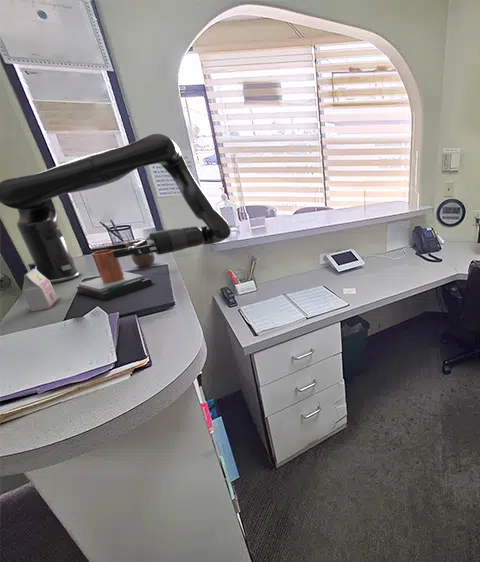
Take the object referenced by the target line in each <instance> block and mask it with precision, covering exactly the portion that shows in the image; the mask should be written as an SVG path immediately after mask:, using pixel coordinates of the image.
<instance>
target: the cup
mask: <svg viewBox="0 0 480 562" xmlns="http://www.w3.org/2000/svg"><path fill="white" fill-rule="evenodd" d="M112 251H114V249H108V250H107V249H102V250H97V251H94V252H92V253H91V256H92V258H93V261H94V264H95V267H96V269H97V271H98V274H99V278H100V277H101V279H102V282H103V283H111V282H116V281H120V280H122V279H124V278H125V277H124V274H123V271H124V270H123V269H122V268H123V267H122V265H121V263H120V261H119V258H115V257H114V255H113V252H112Z"/></svg>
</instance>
